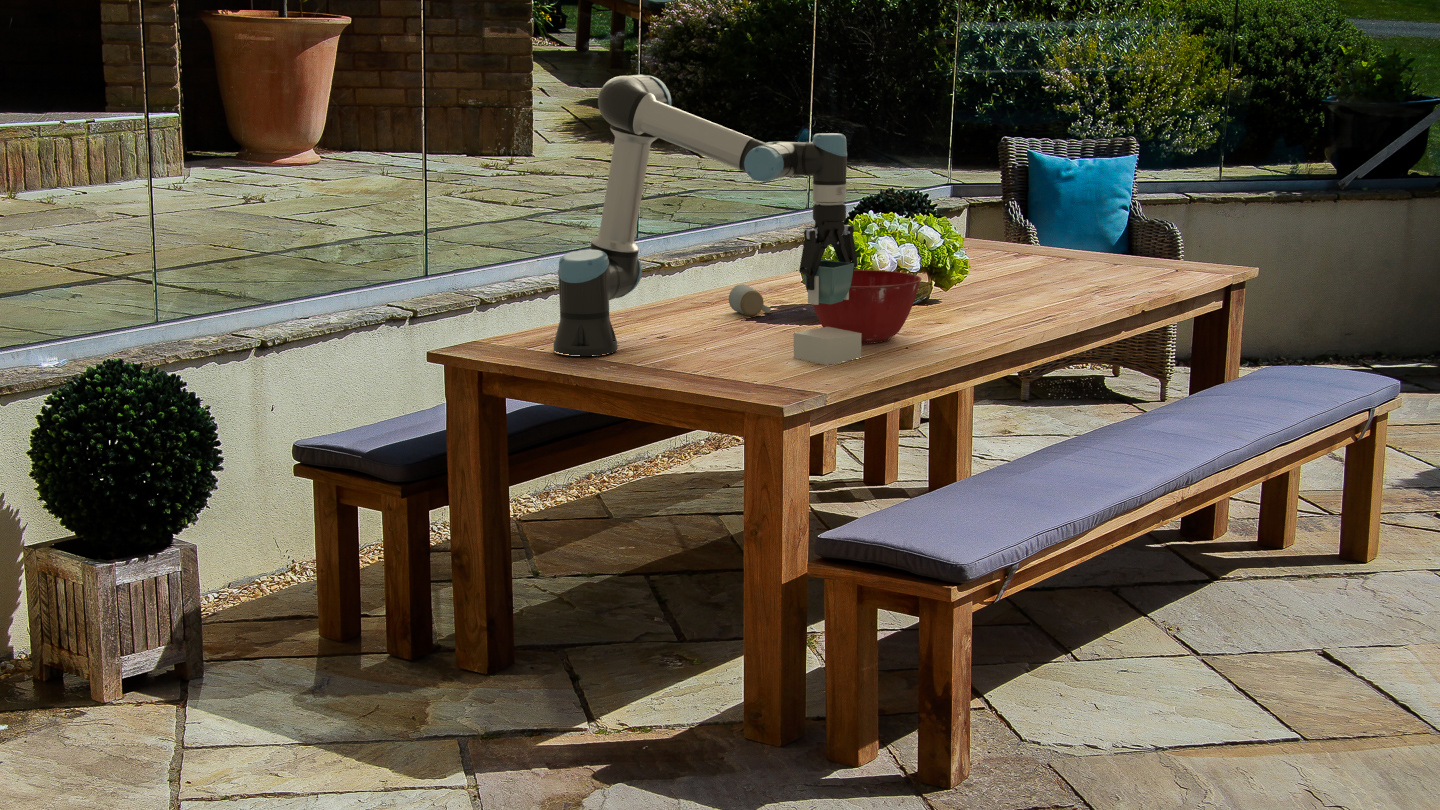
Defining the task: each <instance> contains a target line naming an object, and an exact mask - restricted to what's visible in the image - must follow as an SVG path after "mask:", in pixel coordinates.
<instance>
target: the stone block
mask: <svg viewBox="0 0 1440 810" xmlns="http://www.w3.org/2000/svg"><path fill="white" fill-rule="evenodd" d="M861 334H862V333H858V332H853V331H848V330H842V329H837V328H832V327H817V328H813V329H807V330H801V331H796V332H793V359H796V358H797V359H796V360H800V359H801V360H802V361H805V362H809V361H810V363H814V362H815V364H818V363H820V364H819V365H823V364H825V365H824V366H830V365H829V364H832V365H835V364H834V363H837V364H839V363H838V362H842V361H847V360H852V359H856V358H860V357H861V358H862V343H861ZM852 361H853V360H852ZM847 362H848V361H847ZM842 363H843V362H842Z"/></svg>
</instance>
